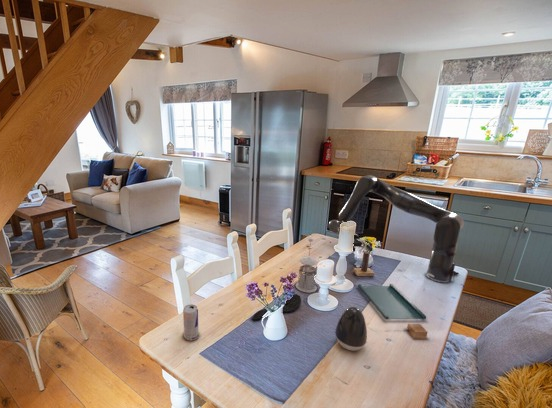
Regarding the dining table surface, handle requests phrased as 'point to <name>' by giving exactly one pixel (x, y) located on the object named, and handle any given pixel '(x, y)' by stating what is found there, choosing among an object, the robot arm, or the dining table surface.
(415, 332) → the cork chunk
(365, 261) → the wooden dowel stand
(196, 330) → the energy drink
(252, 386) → the dining table surface
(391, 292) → the tray
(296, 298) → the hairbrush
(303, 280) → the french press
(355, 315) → the black egg shaped diffuser
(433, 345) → the dining table surface
